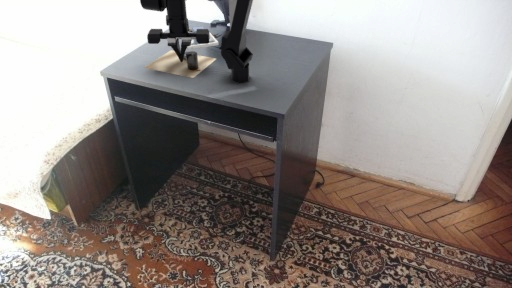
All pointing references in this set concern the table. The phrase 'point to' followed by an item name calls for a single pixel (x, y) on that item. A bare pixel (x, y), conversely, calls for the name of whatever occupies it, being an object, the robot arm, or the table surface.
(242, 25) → the robot arm
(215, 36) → the tactical tomahawk
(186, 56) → the crank
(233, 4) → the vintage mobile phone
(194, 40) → the block
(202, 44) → the tray
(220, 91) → the table surface
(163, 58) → the crank plate
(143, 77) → the table surface
